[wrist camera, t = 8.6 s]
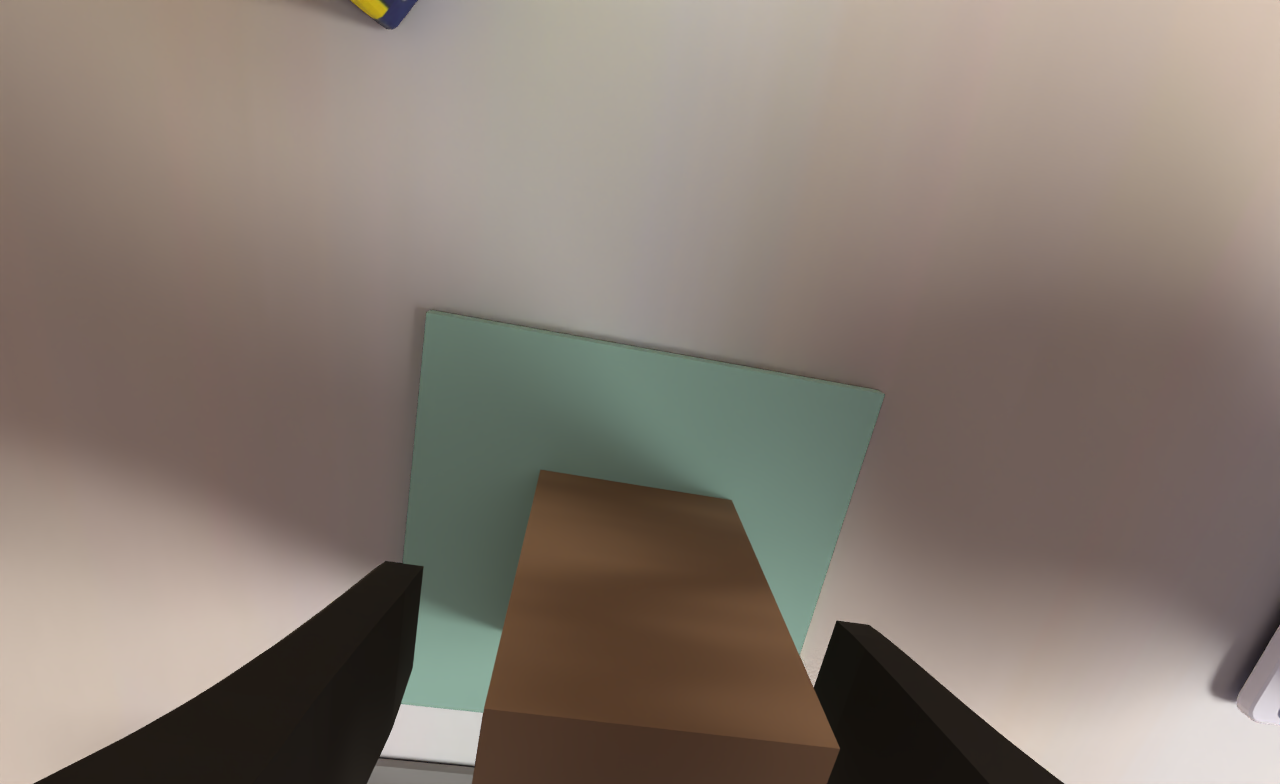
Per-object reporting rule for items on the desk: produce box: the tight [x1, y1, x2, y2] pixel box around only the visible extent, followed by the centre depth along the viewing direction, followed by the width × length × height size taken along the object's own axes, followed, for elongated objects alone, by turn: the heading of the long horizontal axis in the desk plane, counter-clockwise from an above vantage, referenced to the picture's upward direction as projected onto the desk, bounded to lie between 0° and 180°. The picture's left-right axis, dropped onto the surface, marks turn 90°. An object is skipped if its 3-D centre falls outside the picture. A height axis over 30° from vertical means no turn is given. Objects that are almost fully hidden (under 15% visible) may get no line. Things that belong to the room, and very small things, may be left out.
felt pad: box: [401, 310, 885, 713], centre depth 13 cm, size 9×9×1 cm
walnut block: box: [472, 469, 840, 784], centre depth 10 cm, size 4×4×6 cm
